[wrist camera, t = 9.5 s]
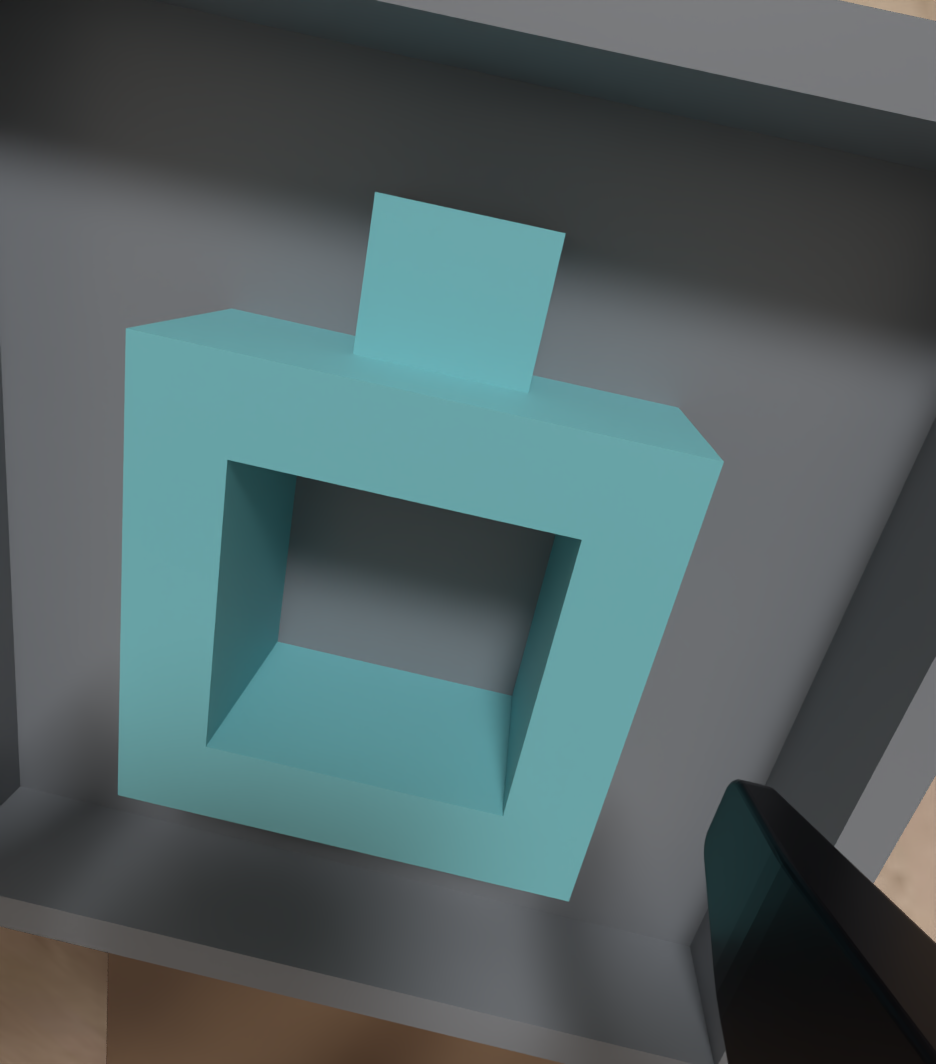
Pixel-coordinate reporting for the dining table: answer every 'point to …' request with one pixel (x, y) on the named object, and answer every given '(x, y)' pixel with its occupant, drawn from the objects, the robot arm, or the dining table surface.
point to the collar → (415, 475)
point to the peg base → (260, 1026)
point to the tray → (462, 539)
